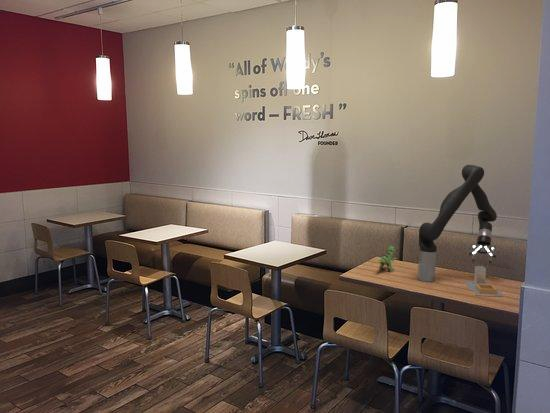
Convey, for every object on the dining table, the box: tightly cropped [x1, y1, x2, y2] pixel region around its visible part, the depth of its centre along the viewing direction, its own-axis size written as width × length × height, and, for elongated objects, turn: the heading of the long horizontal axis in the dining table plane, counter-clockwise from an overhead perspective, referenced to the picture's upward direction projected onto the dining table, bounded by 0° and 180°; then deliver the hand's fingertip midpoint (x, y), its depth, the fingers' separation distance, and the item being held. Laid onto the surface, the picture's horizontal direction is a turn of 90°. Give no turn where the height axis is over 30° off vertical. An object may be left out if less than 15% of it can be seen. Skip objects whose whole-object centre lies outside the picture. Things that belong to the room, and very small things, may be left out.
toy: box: [378, 245, 397, 273], centre depth 303 cm, size 12×21×15 cm, turn 172°
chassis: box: [464, 281, 503, 298], centre depth 269 cm, size 14×22×4 cm, turn 174°
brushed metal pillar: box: [473, 265, 487, 284], centre depth 275 cm, size 4×4×10 cm
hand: (481, 261), depth 281 cm, fingers open, 8 cm apart
